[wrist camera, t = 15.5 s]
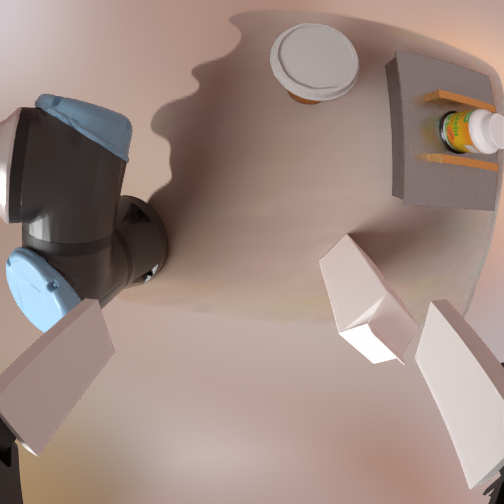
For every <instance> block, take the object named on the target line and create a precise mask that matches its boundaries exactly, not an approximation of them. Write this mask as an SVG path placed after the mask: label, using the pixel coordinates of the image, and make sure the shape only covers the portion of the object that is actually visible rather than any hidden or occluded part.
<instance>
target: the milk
mask: <svg viewBox="0 0 504 504" xmlns="http://www.w3.org/2000/svg"><path fill="white" fill-rule="evenodd" d="M319 263H320V267H321V270H322V273H323V277H324V280H325V284H326V287H327V291H328V294H329V298H330V302H331V305H332V309H333V313H334V317H335V320H336V324H337V328H338V332H339V334H340V335H341V336H342V337H343V338H345V339H346V340H347V341H348V342H349V343H350V344H351V345H353V346H354V347H355V348H356V349H357V350H358V351H360V352H361V353H362V354H363V355H364V356H365V357H367V358H368V359H369V360H370V361H371V362H372V363H374V364H375V363H379V362H383V361H387V360H391V359H395V358H397V359H398V360H399V361H400V362H401V363H402V364H403V365H405V362H404V360H403V357H402V355H403V354H404V352H405V350H406V348H407V347H408V345H409V343H410V342H411V340H412V338H413V336H414V335H415V333H416V331H417V329H418V327H419V326H418V324H417V323H416V321H415V320H414V318H413V317H412V315H411V314H410V312H409V311H408V309H407V308H406V307H405V305H404V304H403V302H402V301H401V299H400V298H399V297H398V295H397V294H396V292H395V291H394V289H393V288H392V287H391V285H390V284H389V283H388V281H387V280H386V278H385V277H384V276H383V274H382V273H381V272H380V270H379V269H378V268H377V266H376V265H375V264H374V262H373V261H372V260H371V259H370V258H369V256H368V255H367V254H366V253H365V252H364V251H363V250H362V249H361V248H360V247H359V246H358V245H357V244H356V243H355V242H354V241H353V239H352V238H351V237H350V236H349V235H348V234H346V235H345V236H344V237H343V238H342V239H341V240H340V241H339V242H338V243H337V244H336V245H335V246H334V247H333V248H332V249H331V250H330V251H329V252H328V253H327V254H326V255H325V256H324V257H322V258H321V259H320V260H319Z"/></svg>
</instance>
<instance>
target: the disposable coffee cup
mask: <svg viewBox="0 0 504 504" xmlns="http://www.w3.org/2000/svg"><path fill="white" fill-rule="evenodd" d="M270 64H271V68H272V71H273V73H274V75H275V77H276V78H277V80H278V81H279V82H280V83H281V84H282V85H283V86H284V87H285V88H286V89H287V91H288V93H289V94H290V96H291V97H292V98H293V99H295V100H296V101H298V102H300V103H303V104H309V105H311V104H317V103H319V102H321V101H326V100H332V99H335V98H338V97H340V96H342V95H344V94H345V93H347V92H348V91H349V90H350V89H351V88H352V87H353V86H354V85H355V83H356V81H357V79H358V76H359V71H360V62H359V58H358V55H357V52H356V50H355V48H354V46H353V45H352V43H351V42H350V41H349V39H348V38H347V37H346V36H345V35H344V34H342V33H341V32H339V31H338V30H336V29H334V28H332V27H330V26H327V25H324V24H318V23H303V24H299V25H296V26H294V27H292V28H290V29H288V30H286V31H284V32H283V33H282V34H281V35H280V36H279V37H278V38H277V39H276V40H275V42H274V44H273V46H272V48H271V53H270Z"/></svg>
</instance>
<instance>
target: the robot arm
mask: <svg viewBox="0 0 504 504" xmlns="http://www.w3.org/2000/svg"><path fill="white" fill-rule="evenodd" d="M35 106H36V108H27V107H19V108H18V109H17V110H16V111H14V113H12V114H11V115H10V116H9V117H8V118H7V119H6V120H4V121H2V122H0V217H1V218H2V219H3V220H4V221H5V222H6V223H22V247H18V248H16V249H14V251H13V252H12V254H10V256H9V258H8V260H7V263H6V275H7V281H8V284H9V287H10V290H11V292H12V295H13V297H14V299H15V301H16V302H17V304H18V306H19V307H20V309H21V310H22V311H23V313H24V314H25V315H26V317H27V318H28V319H29V320H30V321H31V322H32V323H33V324H34V325H35V326H36V327H37V328H38V329H40V330H41V331H43V332H44V334H43V335H42V336H41V337H40V338H39V339H38V340H36V341H35V342H34V343H33V344H32V345H31V346H30V347H29V348H28V349H27V350H26V351H24V352H23V353H22V354H21V355H20V356H19V357H18V358H17V359H16V360H15V361H14V362H13V363H12V364H11V365H10V366H9V367H8V368H7V369H6V370H5V371H4V372H3V373H2V374H1V375H0V504H23V500H22V491H21V483H20V472H19V457H18V447H17V444H16V443H15V442H14V441H15V440H16V438H17V439H18V440H19V441H20V443H21V444H22V445H23V446H24V447H25V448H26V449H27V450H29V451H30V452H32V453H33V454H35V455H36V456H38V457H39V456H40V454H41V453H42V451H43V450H44V448H45V447H46V445H47V444H48V442H49V441H50V440H51V438H52V437H53V435H54V434H55V432H56V431H57V429H58V428H59V427H60V425H61V424H62V423H63V421H64V420H65V418H66V417H67V415H68V414H69V413H70V411H71V410H72V408H73V407H74V406H75V405H76V403H77V402H78V400H79V399H80V398H81V396H82V395H83V394H84V392H85V391H86V390H87V388H88V387H89V386H90V384H91V383H92V382H93V380H94V379H95V378H96V377H97V375H98V374H99V372H100V371H101V370H102V369H103V367H104V366H105V365H106V364H107V362H108V361H109V360H110V358H111V357H112V356H113V355H114V353H115V350H114V347H113V344H112V341H111V339H110V336H109V333H108V330H107V327H106V324H105V321H104V318H103V314H102V311H101V310H102V309H103V308H104V307H105V306H106V305H107V304H108V303H109V302H110V301H111V300H112V299H113V298H114V297H115V296H117V295H118V294H119V293H120V292H121V291H122V290H123V289H126V288H130V287H134V286H138V285H141V284H144V283H146V282H147V281H149V280H150V279H151V278H153V277H154V276H155V275H156V274H157V273H158V272H159V270H160V269H161V268H162V266H163V264H164V262H165V259H166V255H167V246H168V245H167V235H166V231H165V228H164V226H163V223H162V221H161V219H160V218H159V216H158V215H157V213H156V212H155V211H154V209H153V208H152V207H151V206H149V205H148V204H147V203H146V202H144V201H142V200H141V199H139V198H136V197H133V196H126V195H124V196H120V193H121V188H122V183H123V178H124V173H125V169H126V164H127V163H128V162H129V157H128V153H129V147H130V141H131V137H132V125H131V122H130V121H129V119H128V118H127V117H125V116H124V115H122V114H119V113H117V112H115V111H112V110H109V109H107V108H104V107H101V106H97V105H94V104H91V103H87V102H83V101H79V100H76V99H71V98H64V97H60V96H55V95H51V94H42V95H40V96H39V97H38V99H37V100H36V101H35ZM415 360H416V362H417V364H418V366H419V368H420V370H421V372H422V374H423V376H424V378H425V380H426V382H427V384H428V386H429V388H430V391H431V393H432V395H433V397H434V399H435V401H436V404H437V406H438V408H439V410H440V413H441V415H442V417H443V419H444V422H445V424H446V427H447V429H448V431H449V434H450V436H451V439H452V441H453V444H454V446H455V449H456V451H457V454H458V457H459V460H460V462H461V465H462V468H463V471H464V474H465V477H466V480H467V483H468V486H469V489H472V488H475V487H477V486H479V485H481V484H483V483H485V482H487V481H489V480H490V479H491V478H492V477H493V476H494V475H495V474H496V473H497V472H498V471H500V474H501V476H500V477H499V478H498V479H497V480H496V481H495V482H494V483H492V484H491V485H490V486H489V487H488V488H487V489H486V490H485V492H484V494H483V495H486V494H487V493H489V492H490V491H491V490H492V489H493V488H494V490H493V492H492V493H491V494H490V495H489V496H491V499H490V501H489V504H504V363H500V362H499V361H498V360H497V358H496V357H495V356H494V355H493V354H492V352H491V351H490V349H489V348H488V347H487V346H486V344H485V343H484V342H483V341H482V339H481V338H480V337H479V336H478V335H477V333H476V332H475V331H474V330H473V329H472V328H471V326H470V325H469V324H468V323H467V322H466V321H465V320H464V318H463V317H462V316H461V315H460V314H459V313H458V312H457V310H456V309H455V308H454V307H453V306H452V305H451V304H450V303H449V302H448V301H447V300H446V299H445V300H435V301H430V306H429V310H428V314H427V318H426V322H425V325H424V329H423V333H422V336H421V339H420V343H419V346H418V349H417V352H416V355H415Z"/></svg>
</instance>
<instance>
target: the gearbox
mask: <svg viewBox="0 0 504 504" xmlns="http://www.w3.org/2000/svg"><path fill="white" fill-rule="evenodd" d="M394 53H395V58H394V59H393V60H391V61H390V62H389V63H388V64H387V65H386V66H385V67H386V75H387V82H388V91H389V101H390V113H391V128H392V155H393V185H392V195H393V196H395V197H398V198H400V199H403V205H404V206H426V207H446V208H462V209H476V210H488V211H494V210H495V198H496V180H497V171H498V164H497V151H496V152H495V153H493V154H481V153H467V152H458V151H456V150H454V149H453V148H451V147H450V145H449V144H448V143H447V141H446V139H445V136H444V132H443V125H444V121H445V119H446V117H447V116H448V115H450V114H452V113H456V112H463V111H469V110H475V109H485V110H488V111H489V112H491V113H496V111H495V106H494V105H493V98H492V91H491V85H490V79H489V76H486V75H483V74H481V73H478V72H475V71H473V70H470V69H467V68H464V67H461V66H458V65H455V64H452V63H448V62H445V61H441V60H438V59H434V58H430V57H426V56H422V55H418V54H413V53H409V52H404V51H399V50H395V51H394Z"/></svg>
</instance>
